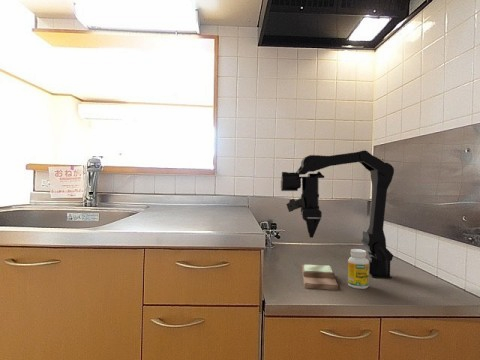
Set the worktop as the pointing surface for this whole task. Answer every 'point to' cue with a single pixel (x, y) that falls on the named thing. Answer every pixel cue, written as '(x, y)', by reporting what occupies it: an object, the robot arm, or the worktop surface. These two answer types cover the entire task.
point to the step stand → (319, 277)
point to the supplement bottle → (358, 269)
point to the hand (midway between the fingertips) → (310, 235)
